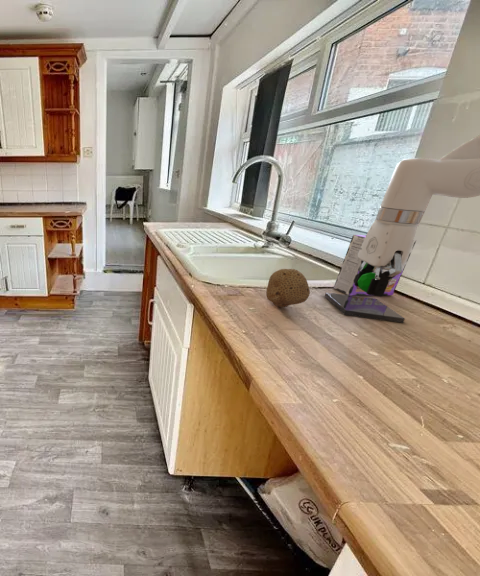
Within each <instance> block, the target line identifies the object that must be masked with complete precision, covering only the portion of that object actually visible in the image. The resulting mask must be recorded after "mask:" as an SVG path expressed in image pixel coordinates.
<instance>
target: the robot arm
mask: <svg viewBox="0 0 480 576" xmlns="http://www.w3.org/2000/svg"><path fill="white" fill-rule="evenodd" d="M389 180H390V181H389V183H388V185H387V188H386V191H385V193H384V195H383V197H382V200H381V203H380V207H379V208H378V211H377V214H376V216H375V219H374V221H373V223H372V224H371V226H370V227H369V230H368V231H367V232H366V234H365V235H366V237H365V239H364V241H363V243H362V246H361V248H360V250H359V253H358V257H359V259H361V260H362V261H361V266H360V272H359V274H358V277H357V279H356V282H355V284H354V285H355V286H357V287H359V286H358V280H359V278H360V277H361V276H362V275H363V274H366V273H370V272H372V273H373V272H374V271H375V269H376V268H377V270H376V275H375V279H373V278H372V280H371V283H370V285H369V287H368V290H367V292H366V293H367V294H368V295H367V296H374V297H375V296H376V297H383V296H384V295H383V294H384V292H385V290H386V287H387V285H388V283H389V281H391V280H392V278H393V277H395V276H396V275H398V274H400V273H401V272H402V266H403V264H404V262H405V260H406V258H407V256H408V254H409V251H410V248H411V246H412V243H413V240H415V237H416V233H417V227H419V225H420V224H421V222H422V219H423V217H424V214H425V212H426V210H427V208H428V205H429V204H430V201H431V199H432V196H441V197H448V198H455V199H456V198H457V199H468V198H476V197H480V134H477V135H476V136H475V137H473V138H471V139H469V140H467V141H464V142H463V143H462V144H460V145H459V146H457V147H455V148H454V149H452V150H451V151H449V152H448V153H446V154H444V155H443V156H441V157H440V158H429V157H428V158H426V157H410V158H409V157H408V158H403V159H402V160H400V161H398V163H397V164H396V165H395V167H394V170H393V172H392V174H391V178H390V179H389ZM385 265H387V266H389V267H383V266H385ZM382 270H388V271H385V272H383V273H382Z"/></svg>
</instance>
